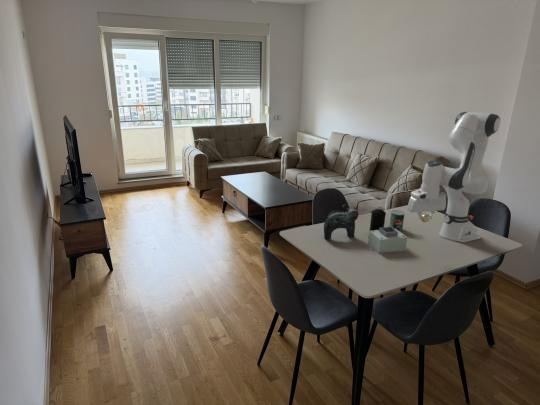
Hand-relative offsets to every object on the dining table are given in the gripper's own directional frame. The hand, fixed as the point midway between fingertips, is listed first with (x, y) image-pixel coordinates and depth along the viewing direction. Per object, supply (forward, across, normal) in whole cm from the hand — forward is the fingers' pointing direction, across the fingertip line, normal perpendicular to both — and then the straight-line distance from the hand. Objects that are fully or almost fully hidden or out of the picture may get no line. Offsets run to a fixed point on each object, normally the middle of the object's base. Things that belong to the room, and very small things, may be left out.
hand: (424, 218), depth 194 cm
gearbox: (+20, +14, -10) cm, 26 cm away
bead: (+2, 0, 0) cm, 2 cm away
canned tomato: (+20, -6, -32) cm, 38 cm away
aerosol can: (+20, +14, -22) cm, 32 cm away
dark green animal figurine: (+20, +34, -27) cm, 48 cm away
